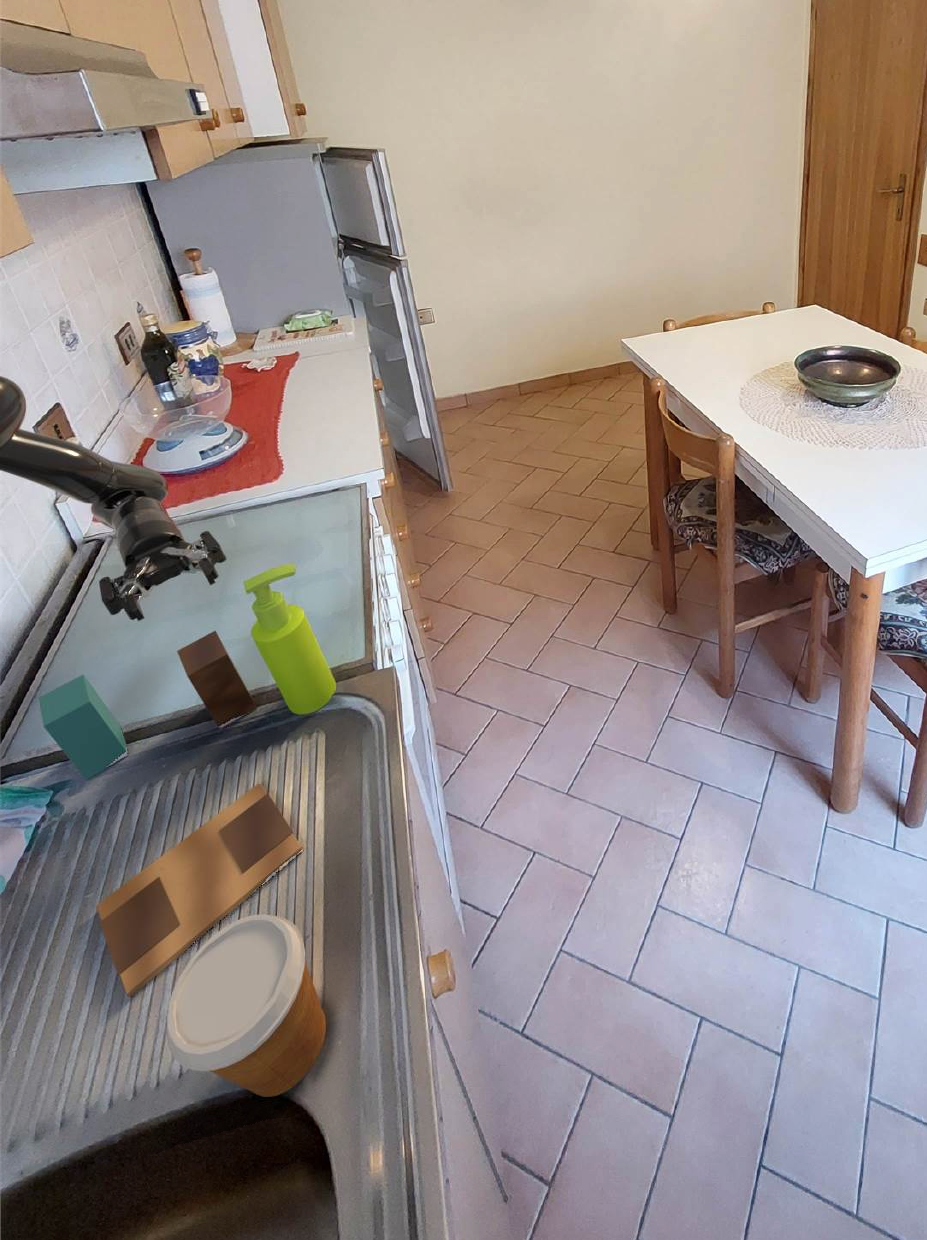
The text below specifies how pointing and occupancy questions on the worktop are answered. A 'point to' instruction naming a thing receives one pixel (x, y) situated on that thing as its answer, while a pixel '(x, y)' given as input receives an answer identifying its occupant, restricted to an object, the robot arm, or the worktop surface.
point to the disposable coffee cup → (248, 1007)
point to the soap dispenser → (289, 645)
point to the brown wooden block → (216, 679)
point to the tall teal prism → (82, 726)
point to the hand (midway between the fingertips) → (175, 596)
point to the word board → (194, 887)
